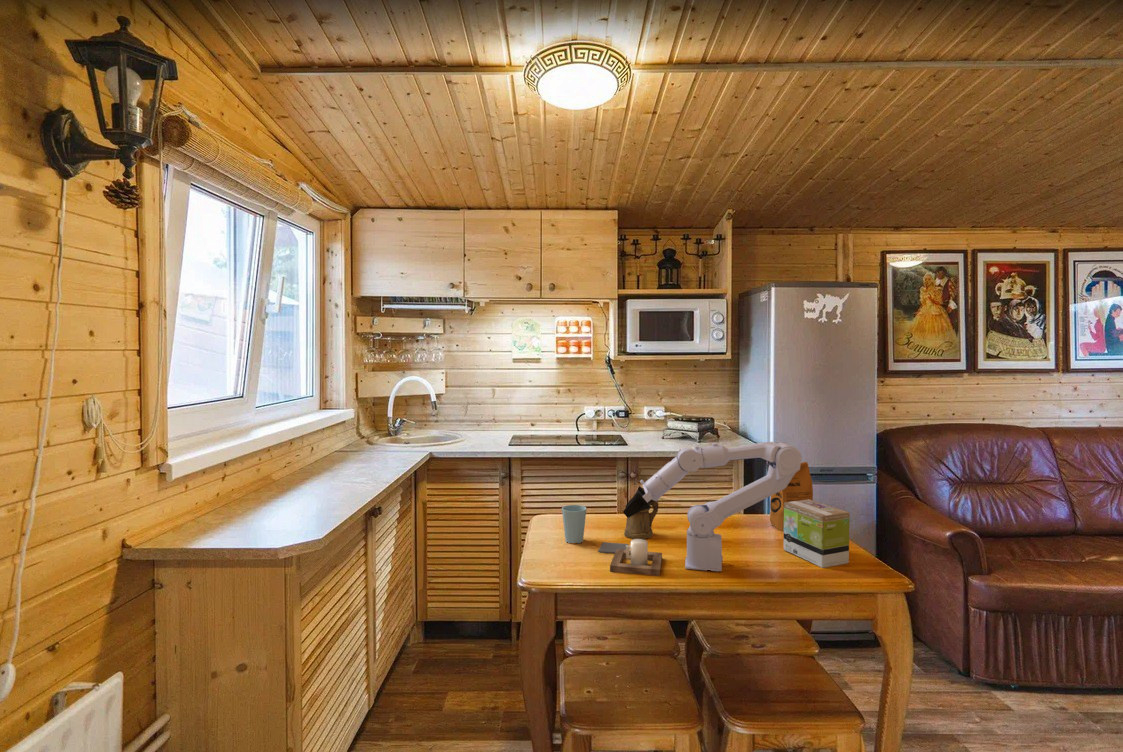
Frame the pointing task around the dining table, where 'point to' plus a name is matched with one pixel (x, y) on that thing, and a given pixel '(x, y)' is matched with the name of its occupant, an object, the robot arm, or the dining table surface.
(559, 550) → the dining table surface
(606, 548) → the mat
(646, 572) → the jug holder
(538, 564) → the dining table surface
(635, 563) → the jug
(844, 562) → the tea box
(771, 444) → the robot arm
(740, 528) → the dining table surface
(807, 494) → the coffee package
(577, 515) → the cup
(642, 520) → the wooden mug
